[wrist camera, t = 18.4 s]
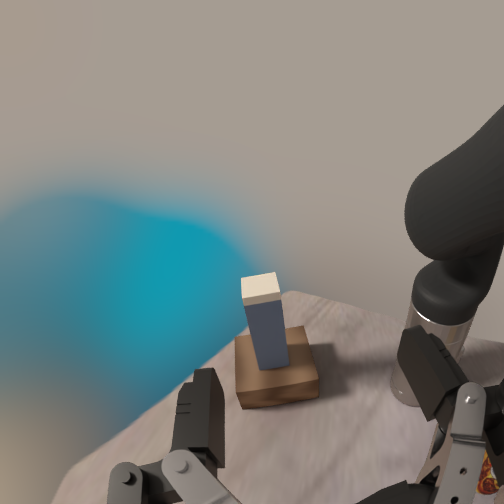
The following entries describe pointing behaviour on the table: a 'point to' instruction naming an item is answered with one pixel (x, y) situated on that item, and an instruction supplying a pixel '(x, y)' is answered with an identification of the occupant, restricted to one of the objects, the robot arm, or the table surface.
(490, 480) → the canned food
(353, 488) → the table surface
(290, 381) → the display plinth
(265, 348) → the carton
